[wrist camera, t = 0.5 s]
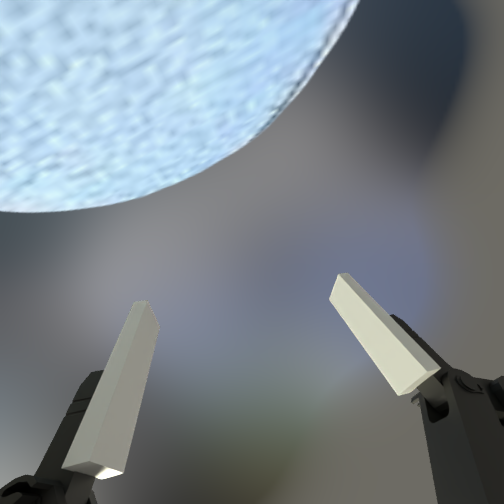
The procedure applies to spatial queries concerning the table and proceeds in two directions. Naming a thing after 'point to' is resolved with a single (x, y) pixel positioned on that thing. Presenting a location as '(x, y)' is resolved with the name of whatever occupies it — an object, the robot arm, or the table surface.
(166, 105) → the table surface
